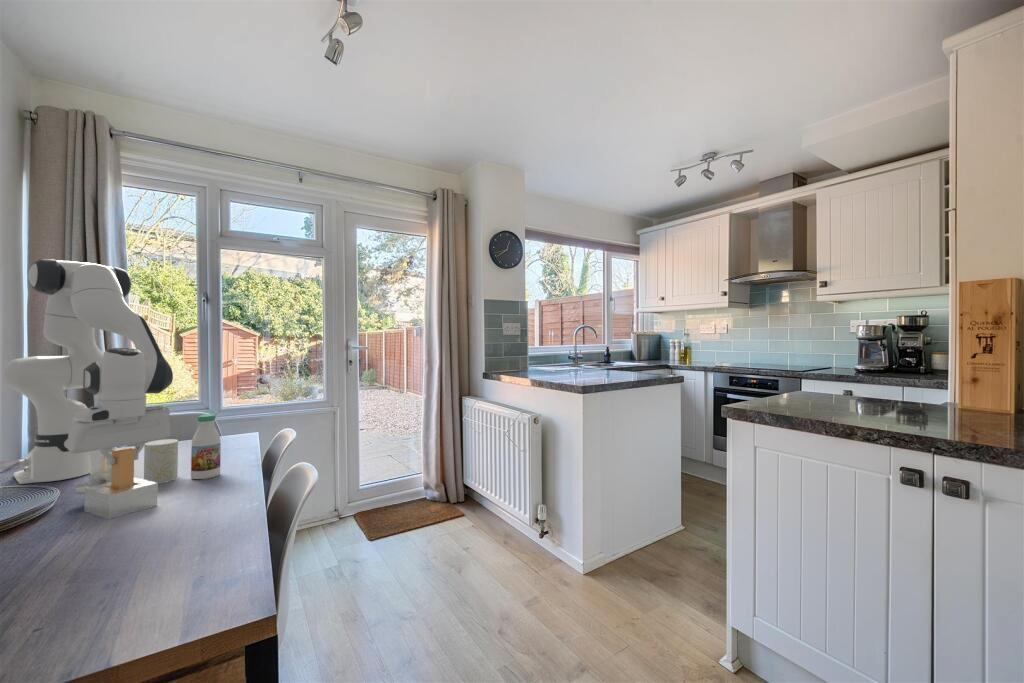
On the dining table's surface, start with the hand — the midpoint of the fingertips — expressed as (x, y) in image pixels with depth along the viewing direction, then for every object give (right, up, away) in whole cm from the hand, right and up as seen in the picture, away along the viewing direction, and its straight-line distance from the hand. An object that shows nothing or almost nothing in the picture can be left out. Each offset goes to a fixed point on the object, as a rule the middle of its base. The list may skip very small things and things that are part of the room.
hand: (122, 462), depth 108 cm
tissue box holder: (-4, -12, +2) cm, 13 cm away
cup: (-9, -12, +22) cm, 27 cm away
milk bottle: (+2, -13, +26) cm, 29 cm away
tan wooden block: (0, -8, 0) cm, 8 cm away
